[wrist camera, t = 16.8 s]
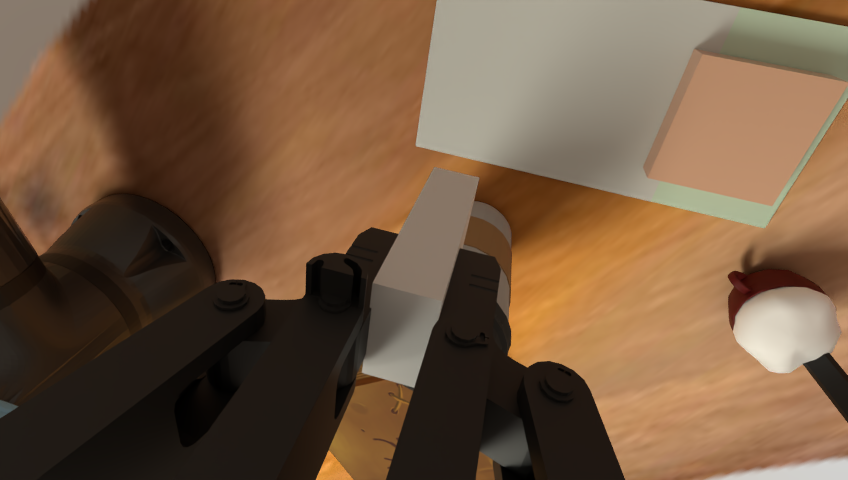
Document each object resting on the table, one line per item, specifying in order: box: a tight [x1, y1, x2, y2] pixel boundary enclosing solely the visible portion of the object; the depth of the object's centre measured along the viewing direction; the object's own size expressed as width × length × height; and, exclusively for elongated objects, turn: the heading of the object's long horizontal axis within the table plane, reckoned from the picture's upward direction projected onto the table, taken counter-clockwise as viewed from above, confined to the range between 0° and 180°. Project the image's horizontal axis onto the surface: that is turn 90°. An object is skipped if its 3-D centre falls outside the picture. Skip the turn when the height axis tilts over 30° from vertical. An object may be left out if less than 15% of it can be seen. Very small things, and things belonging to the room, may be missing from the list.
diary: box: [329, 362, 495, 480], centre depth 52 cm, size 23×19×6 cm
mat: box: [416, 0, 848, 228], centre depth 32 cm, size 26×13×1 cm, turn 82°
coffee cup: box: [402, 201, 512, 391], centre depth 34 cm, size 8×8×15 cm
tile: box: [643, 49, 848, 206], centre depth 30 cm, size 2×8×8 cm
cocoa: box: [728, 269, 848, 422], centre depth 32 cm, size 10×6×12 cm, turn 33°
